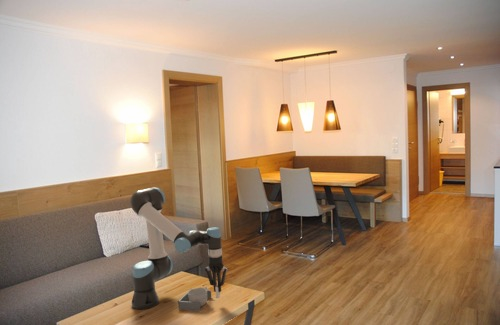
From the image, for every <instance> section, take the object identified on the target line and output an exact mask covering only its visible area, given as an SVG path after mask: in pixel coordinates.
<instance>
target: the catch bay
mask: <svg viewBox="0 0 500 325" xmlns="http://www.w3.org/2000/svg"><path fill="white" fill-rule="evenodd" d="M192 289H193V288H190V289H189V290H188V291H190V290H192ZM188 291H187V292H186V293H185V294H184V295H182V297H181V298H180V299H179V300H178V301H177V307H178V308H177V309H178V310H181V311H182V310H183V311H196V312H200V311H201V306H200V302H189V298H188ZM207 299H212V289H211V290H210V289H207Z"/></svg>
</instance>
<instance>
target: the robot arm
mask: <svg viewBox="0 0 500 325" xmlns="http://www.w3.org/2000/svg"><path fill="white" fill-rule="evenodd" d="M165 202H166V195H165V193H164V192H163V190H162V189H161V188H159V187H149V188H145V189H140V190H137V191H135V192H134V193H132V195H131V197H130V199H129V204H130V207H131V209H132V211H133V213H135V214H136V215H137V216H139V217H140V218H142V217H143V219H145V221H146V231H147V237H148V246H149V255H148V256H147V260H143V261H140V262H139V261H138V262H137V263H135V264H134V265H133V267H132V283H133V284H132V285H133V293H132V294H133V295H132V299H131V307H132V308H133V309H135V310H146V309H148V310H149V309H151V308H154V307H156V306H158V305H159V303H160V297H159V295H158V293H157V291H156V285H155V282H157V281H159V280H161V279H163V278H165V277H167V276H168V275H169V274H170V273H171V272H172V270H173V268H174V267H173V266H174V265H173V260H172V259H171V256H169V255H168V252H166V251H165V242H164V236H165V237H166V238H167V239H168V240H170V241H171V242H172V243H173V244H174V248H175V250H176V252H178V253H185V252H188V251H190V250H191V249H193V248H195V247H198V246H202V245H204V246H207V252H208V253H207V254H208V265H207V266H206V267H205V269H204V270H205V272H206V275H207V277H208V281H209V285H210V286H213V292H214V293H215V298H216V299H220V297H221V292H222V286H224V285H225V281H226V276H227V271H228V269H229V268H228V267H225V266H224V263H223V261H224V260H223V248H222V234H221V229H220V228H219V227H218V226H217V227H215V226H213V227H209V228H207V229H206V230H197V229H194V230H189V231H188V232H189V233H188V234H186V232H184V231H183V230H182V229H180V228H179V227H178V226H177V225H175V224H174V223H173V222H172V221H171V220H169V219H168V218H167V217H166V216H164V215H163V214H162V213H161V212H162V211H163V205H164V203H165ZM221 273H222V275H221Z"/></svg>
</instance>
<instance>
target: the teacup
mask: <svg viewBox="0 0 500 325" xmlns="http://www.w3.org/2000/svg"><path fill="white" fill-rule="evenodd" d="M191 289H192V290H190V289H189V290H190V291H189V290H188V291H187V292H188V298H189V300H188V301H189V302H200V307H203V306H204V305H205V304H207V302H208V298H207V290H208V288H207V286H204V287H196V288H191Z"/></svg>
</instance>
